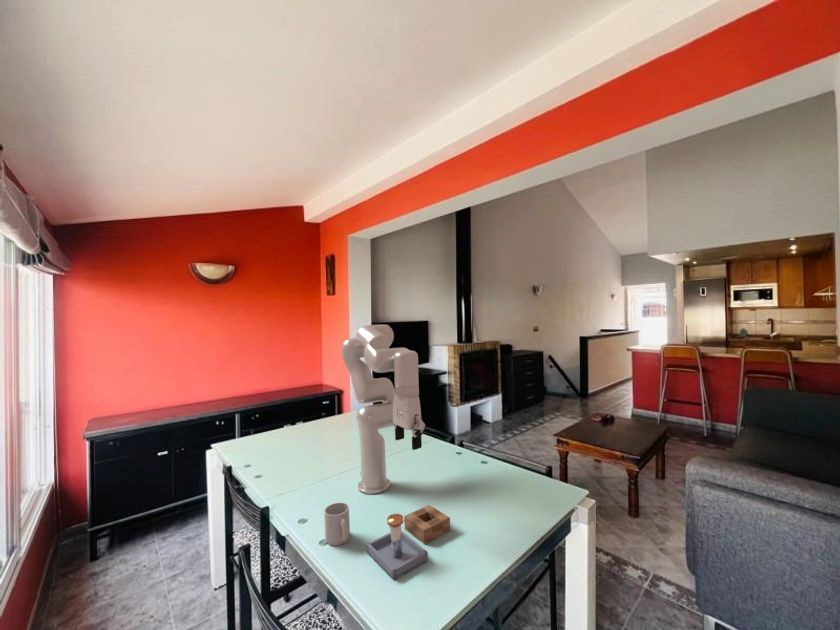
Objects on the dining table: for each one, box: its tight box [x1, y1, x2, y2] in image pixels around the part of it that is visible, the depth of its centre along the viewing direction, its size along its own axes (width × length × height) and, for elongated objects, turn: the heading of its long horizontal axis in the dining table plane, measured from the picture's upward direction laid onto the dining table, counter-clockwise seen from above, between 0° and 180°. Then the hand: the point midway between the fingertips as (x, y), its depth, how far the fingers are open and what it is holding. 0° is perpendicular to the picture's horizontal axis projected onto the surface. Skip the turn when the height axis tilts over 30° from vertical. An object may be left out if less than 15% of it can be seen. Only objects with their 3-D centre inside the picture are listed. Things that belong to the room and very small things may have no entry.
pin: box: [386, 513, 404, 558], centre depth 98 cm, size 4×4×10 cm
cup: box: [323, 502, 351, 547], centre depth 106 cm, size 7×10×9 cm
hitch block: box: [403, 504, 451, 545], centre depth 110 cm, size 10×10×4 cm
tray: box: [365, 530, 429, 581], centre depth 98 cm, size 14×11×2 cm
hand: (408, 443), depth 113 cm, fingers open, 9 cm apart
